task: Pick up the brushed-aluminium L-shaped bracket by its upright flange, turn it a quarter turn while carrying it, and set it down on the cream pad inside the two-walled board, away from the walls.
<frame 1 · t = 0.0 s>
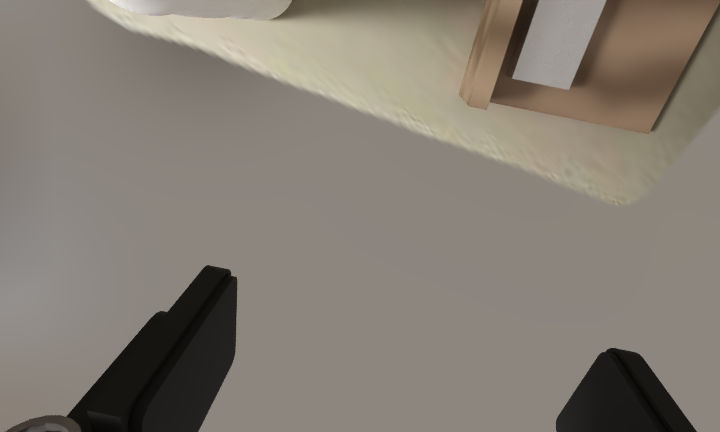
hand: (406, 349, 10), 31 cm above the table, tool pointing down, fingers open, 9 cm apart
bracket: (555, 20, 32), point 1 cm above the table, touching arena
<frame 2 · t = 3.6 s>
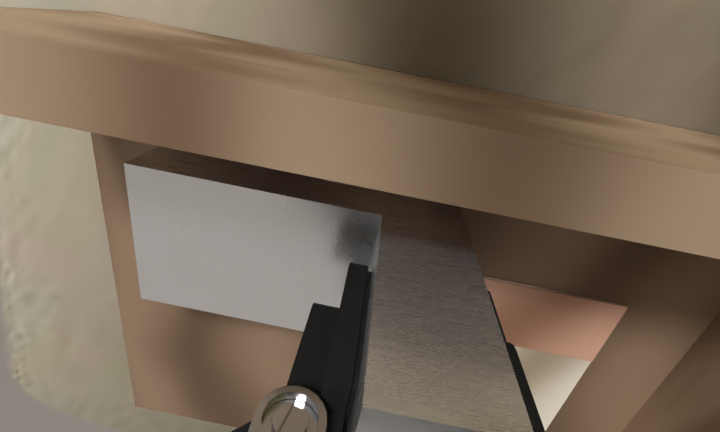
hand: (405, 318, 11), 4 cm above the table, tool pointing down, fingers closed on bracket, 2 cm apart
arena: (405, 306, 16), on the table
bracket: (303, 237, 14), point 1 cm above the table, touching gripper
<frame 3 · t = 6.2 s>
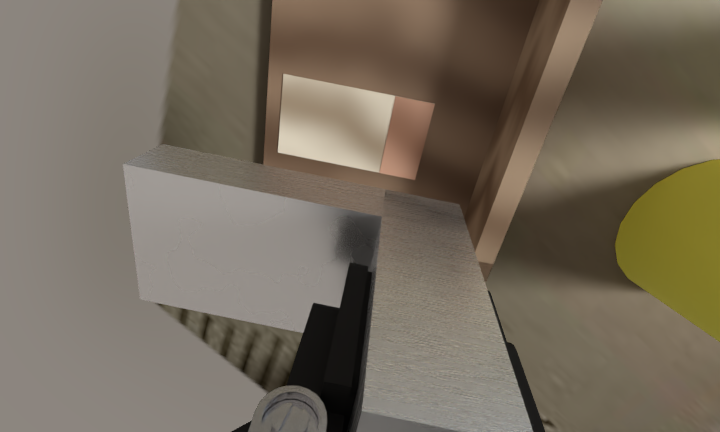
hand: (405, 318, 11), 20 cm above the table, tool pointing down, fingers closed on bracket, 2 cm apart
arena: (399, 70, 26), on the table
cone: (698, 231, 30), on the table
bracket: (302, 238, 13), point 17 cm above the table, touching gripper
when the fingers open (5 cm above the table, at t = 9.2 s): bracket stays where it is, resting on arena.
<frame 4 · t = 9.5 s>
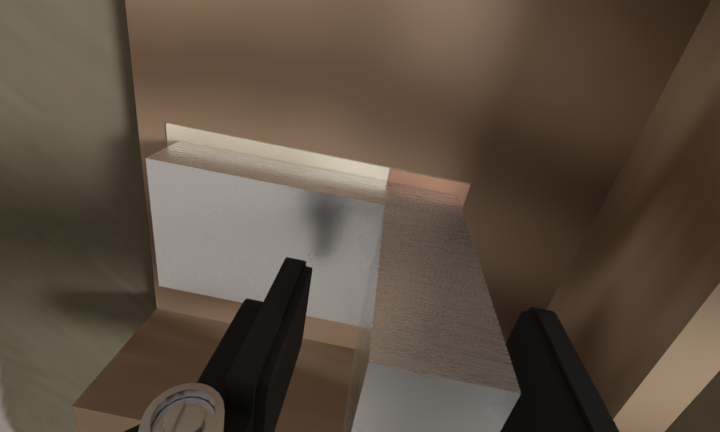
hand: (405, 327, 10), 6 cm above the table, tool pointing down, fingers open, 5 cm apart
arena: (398, 115, 13), on the table
bracket: (310, 228, 14), point 1 cm above the table, touching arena
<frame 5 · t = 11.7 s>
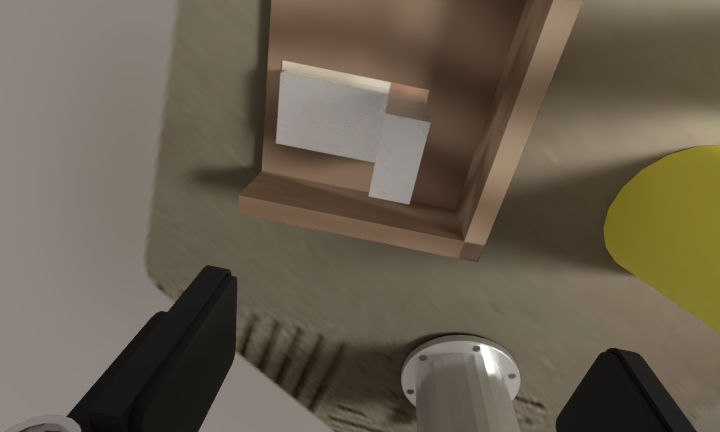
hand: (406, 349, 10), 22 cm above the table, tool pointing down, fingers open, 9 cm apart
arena: (395, 57, 27), on the table
cone: (683, 216, 31), on the table
bracket: (350, 116, 28), point 1 cm above the table, touching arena
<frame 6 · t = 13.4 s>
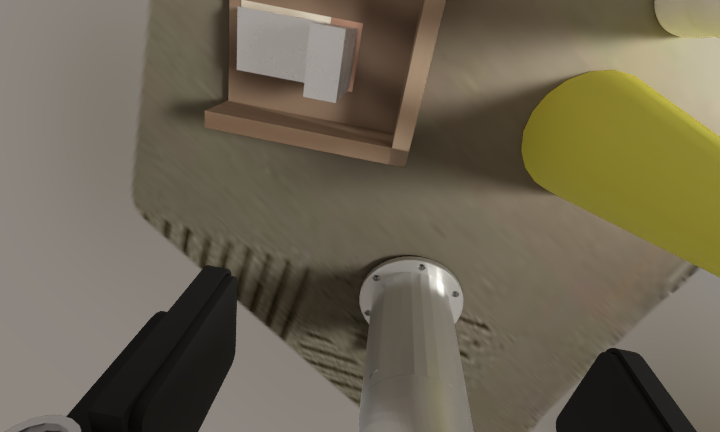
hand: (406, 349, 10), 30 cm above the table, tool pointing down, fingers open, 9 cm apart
cone: (587, 137, 36), on the table
bracket: (299, 48, 34), point 1 cm above the table, touching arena
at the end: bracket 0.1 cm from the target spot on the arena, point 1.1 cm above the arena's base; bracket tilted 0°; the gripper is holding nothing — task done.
